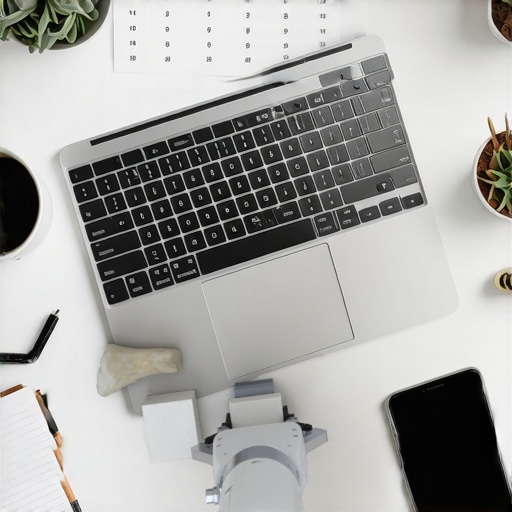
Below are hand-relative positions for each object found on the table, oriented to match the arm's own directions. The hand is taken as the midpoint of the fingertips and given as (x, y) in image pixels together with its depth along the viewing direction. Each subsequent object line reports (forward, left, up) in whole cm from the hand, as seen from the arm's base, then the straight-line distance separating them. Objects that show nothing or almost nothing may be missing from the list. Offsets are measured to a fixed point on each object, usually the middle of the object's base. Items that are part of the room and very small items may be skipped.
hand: (258, 421), depth 72 cm
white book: (0, 0, +1) cm, 1 cm away
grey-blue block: (+1, 0, -2) cm, 2 cm away
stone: (+9, +14, -3) cm, 17 cm away
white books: (+1, +11, -2) cm, 11 cm away
